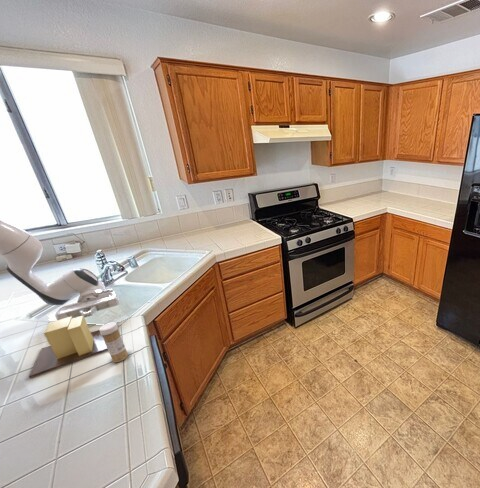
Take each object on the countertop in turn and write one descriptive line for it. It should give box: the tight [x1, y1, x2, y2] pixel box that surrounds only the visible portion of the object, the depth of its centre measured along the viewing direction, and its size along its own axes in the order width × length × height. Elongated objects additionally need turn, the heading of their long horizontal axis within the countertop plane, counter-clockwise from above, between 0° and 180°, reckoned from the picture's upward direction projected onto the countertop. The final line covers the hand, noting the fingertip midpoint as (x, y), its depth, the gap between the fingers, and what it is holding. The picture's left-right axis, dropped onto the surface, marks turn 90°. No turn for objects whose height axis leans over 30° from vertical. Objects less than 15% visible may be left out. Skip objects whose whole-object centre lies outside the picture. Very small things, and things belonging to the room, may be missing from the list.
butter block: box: [43, 316, 77, 359], centre depth 93 cm, size 6×7×11 cm
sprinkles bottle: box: [98, 321, 129, 363], centre depth 88 cm, size 5×5×14 cm
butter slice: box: [67, 316, 94, 356], centre depth 93 cm, size 3×8×11 cm, turn 36°
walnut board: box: [28, 329, 108, 379], centre depth 96 cm, size 22×16×1 cm
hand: (87, 315), depth 105 cm, fingers closed
